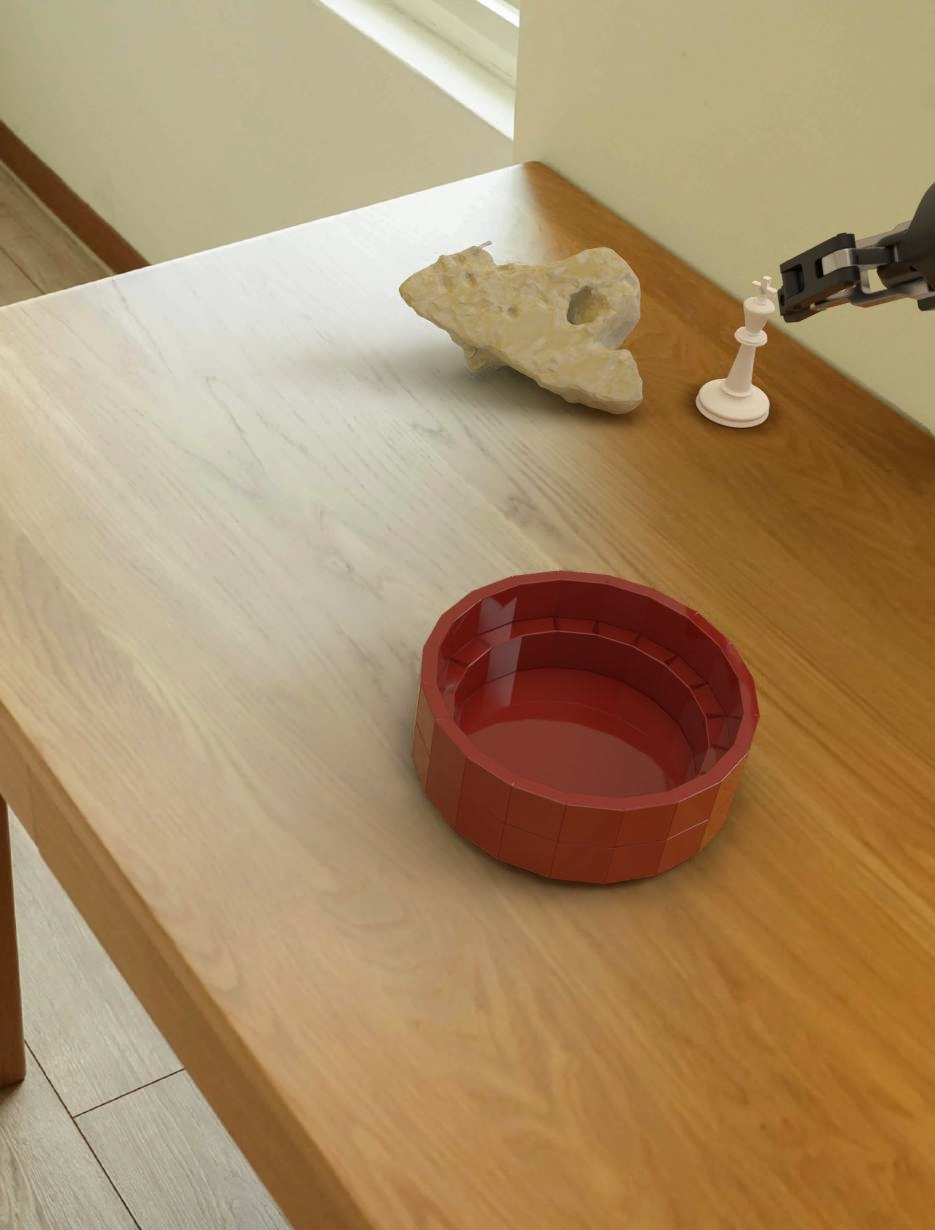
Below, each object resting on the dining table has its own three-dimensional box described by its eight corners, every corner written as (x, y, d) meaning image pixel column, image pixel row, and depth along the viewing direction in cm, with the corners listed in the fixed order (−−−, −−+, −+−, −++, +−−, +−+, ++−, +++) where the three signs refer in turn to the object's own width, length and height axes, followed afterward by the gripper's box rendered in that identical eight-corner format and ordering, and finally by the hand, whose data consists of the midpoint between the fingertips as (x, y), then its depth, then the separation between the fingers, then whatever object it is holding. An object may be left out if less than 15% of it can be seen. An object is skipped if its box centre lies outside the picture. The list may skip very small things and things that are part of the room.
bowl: (658, 635, 88) (679, 555, 84) (785, 862, 76) (817, 782, 72) (377, 671, 84) (385, 589, 80) (463, 914, 73) (477, 832, 69)
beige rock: (666, 394, 109) (566, 208, 109) (701, 372, 102) (594, 173, 102) (480, 493, 108) (379, 304, 108) (503, 478, 100) (394, 275, 100)
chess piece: (744, 437, 102) (781, 306, 96) (681, 406, 105) (713, 276, 98) (781, 407, 105) (820, 278, 98) (720, 378, 108) (753, 250, 101)
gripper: (1155, 127, 74) (955, 227, 90) (889, 143, 71) (732, 244, 87) (1176, 280, 74) (973, 353, 90) (911, 302, 71) (749, 374, 87)
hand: (854, 299), depth 89 cm, fingers open, 8 cm apart
